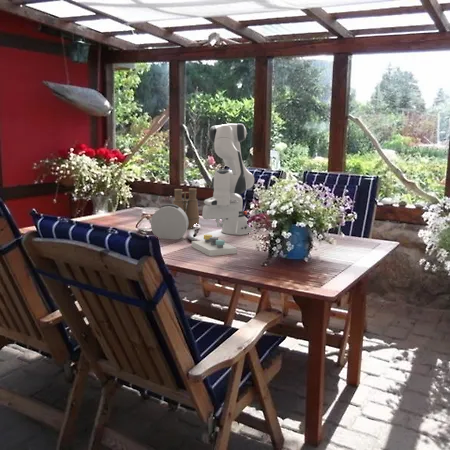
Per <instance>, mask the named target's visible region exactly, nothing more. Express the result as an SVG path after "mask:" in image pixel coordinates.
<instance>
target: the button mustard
mask: <svg viewBox="0 0 450 450" xmlns="http://www.w3.org/2000/svg"><path fill="white" fill-rule="evenodd" d="M210 237H213V235H212V234H207V233H206V234H203V240H205V242H210V241H209V240H210Z"/></svg>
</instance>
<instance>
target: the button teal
mask: <svg viewBox="0 0 450 450" xmlns="http://www.w3.org/2000/svg"><path fill="white" fill-rule="evenodd" d="M225 243H226V241H225V240H224V239H218V240H216V245H217V248H223V245H224V244H225Z"/></svg>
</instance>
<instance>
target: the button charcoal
mask: <svg viewBox="0 0 450 450" xmlns="http://www.w3.org/2000/svg"><path fill="white" fill-rule="evenodd" d="M216 240H219V237H217V236H212V237H210V240H209V241H210V242H211V245H216Z"/></svg>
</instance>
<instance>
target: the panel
mask: <svg viewBox="0 0 450 450" xmlns="http://www.w3.org/2000/svg"><path fill="white" fill-rule="evenodd" d="M191 247H192V248H194V249H196V250H198V251H199V252H201V253H202V254H204V255H207V256H209V257H213V256H215V257H216V256H223V255H231V254H237V252H238V251H237V250H238V249H237V248H238V247H236V246H234V245H231V244H229V243H226V242H225V244H224V245H223V248H217V245H211V242H205V239H203V240H202V239H201V240H194V241H193V240H191Z"/></svg>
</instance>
